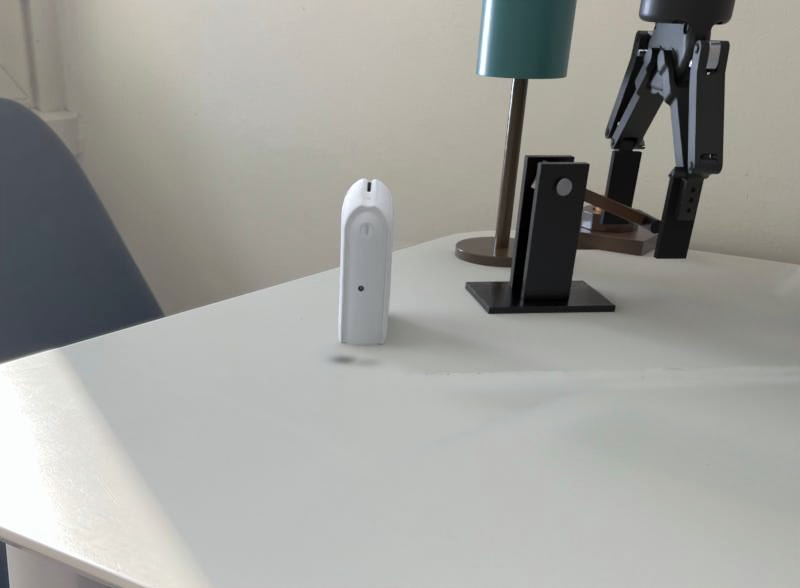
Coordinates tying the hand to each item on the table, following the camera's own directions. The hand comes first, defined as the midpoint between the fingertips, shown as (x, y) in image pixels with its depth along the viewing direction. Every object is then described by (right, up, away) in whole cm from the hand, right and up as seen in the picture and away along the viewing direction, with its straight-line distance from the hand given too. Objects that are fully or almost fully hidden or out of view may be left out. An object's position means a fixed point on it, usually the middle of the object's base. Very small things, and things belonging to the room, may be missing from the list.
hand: (640, 240), depth 93 cm
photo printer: (-26, -11, -6) cm, 29 cm away
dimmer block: (+4, +9, +24) cm, 26 cm away
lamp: (-10, +4, +17) cm, 20 cm away
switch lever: (-5, +2, -2) cm, 6 cm away
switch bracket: (-9, -5, +2) cm, 11 cm away
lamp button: (+4, +12, +22) cm, 25 cm away
